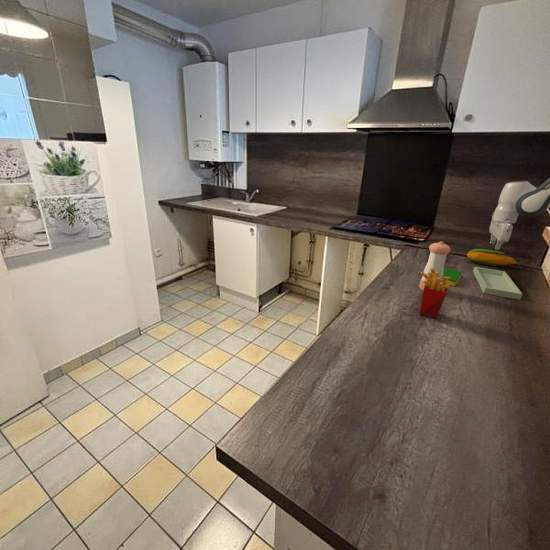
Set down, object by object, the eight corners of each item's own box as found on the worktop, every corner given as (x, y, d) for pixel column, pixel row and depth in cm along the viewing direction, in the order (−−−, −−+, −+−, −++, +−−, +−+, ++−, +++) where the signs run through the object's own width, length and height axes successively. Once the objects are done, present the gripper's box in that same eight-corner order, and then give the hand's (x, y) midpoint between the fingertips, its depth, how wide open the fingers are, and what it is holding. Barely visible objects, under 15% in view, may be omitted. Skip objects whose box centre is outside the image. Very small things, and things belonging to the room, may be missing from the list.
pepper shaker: (431, 284, 118) (443, 238, 110) (443, 292, 111) (457, 244, 103) (415, 285, 117) (426, 239, 109) (426, 293, 110) (439, 244, 102)
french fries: (441, 312, 97) (453, 270, 91) (438, 323, 91) (451, 279, 85) (412, 304, 101) (422, 264, 95) (408, 314, 95) (419, 272, 89)
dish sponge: (460, 276, 126) (462, 271, 125) (454, 286, 116) (456, 281, 116) (442, 272, 130) (444, 267, 130) (435, 281, 121) (436, 276, 120)
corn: (469, 244, 146) (518, 251, 137) (464, 258, 149) (512, 265, 140) (469, 249, 140) (521, 256, 131) (465, 263, 143) (515, 271, 135)
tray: (472, 271, 132) (474, 266, 131) (503, 276, 128) (505, 271, 127) (483, 293, 112) (485, 287, 111) (520, 299, 107) (522, 294, 106)
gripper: (520, 222, 122) (508, 253, 128) (507, 214, 140) (497, 241, 145) (502, 220, 125) (491, 251, 130) (491, 212, 142) (482, 240, 148)
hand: (494, 246), depth 138 cm, fingers open, 8 cm apart
